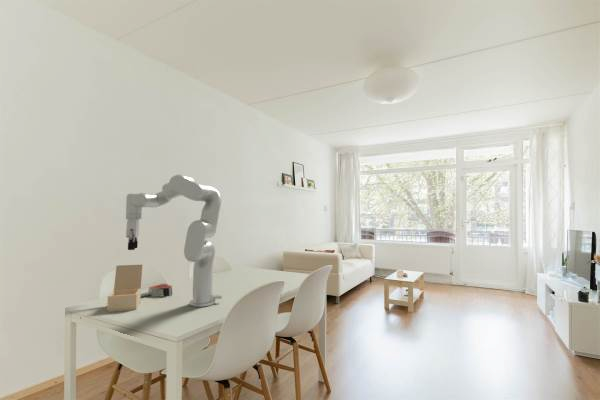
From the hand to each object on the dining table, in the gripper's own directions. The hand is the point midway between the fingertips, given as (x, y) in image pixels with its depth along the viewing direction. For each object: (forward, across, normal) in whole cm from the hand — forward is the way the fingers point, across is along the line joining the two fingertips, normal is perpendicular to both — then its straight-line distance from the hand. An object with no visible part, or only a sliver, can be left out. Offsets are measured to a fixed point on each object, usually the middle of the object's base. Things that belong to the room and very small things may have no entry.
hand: (132, 248), depth 173 cm
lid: (+13, +10, 0) cm, 16 cm away
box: (+26, +18, 0) cm, 32 cm away
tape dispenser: (+27, -2, +12) cm, 29 cm away
